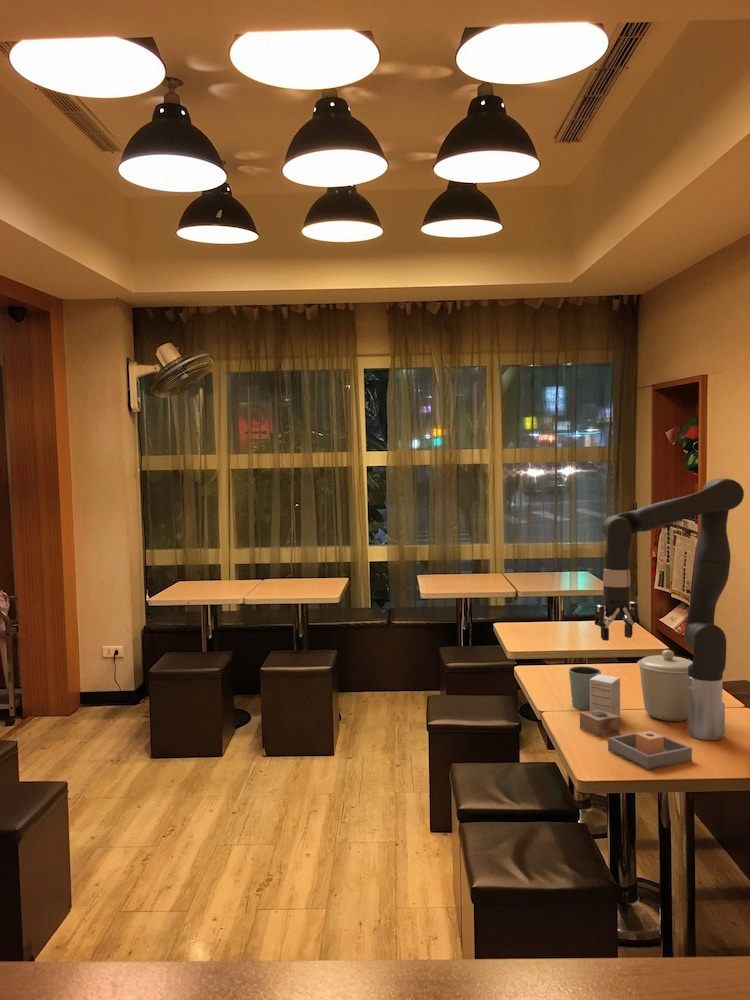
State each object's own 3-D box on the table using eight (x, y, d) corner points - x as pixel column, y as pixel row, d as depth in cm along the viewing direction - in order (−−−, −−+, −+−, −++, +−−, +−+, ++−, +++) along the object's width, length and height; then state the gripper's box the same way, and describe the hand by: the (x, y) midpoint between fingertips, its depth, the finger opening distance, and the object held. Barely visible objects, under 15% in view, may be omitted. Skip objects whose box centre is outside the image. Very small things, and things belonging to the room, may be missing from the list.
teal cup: (604, 710, 229) (604, 674, 229) (573, 710, 229) (573, 674, 229) (595, 701, 239) (595, 665, 239) (565, 701, 239) (565, 666, 239)
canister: (681, 730, 211) (681, 660, 210) (626, 715, 224) (626, 649, 224) (709, 717, 222) (710, 650, 221) (655, 703, 236) (655, 640, 235)
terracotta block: (650, 748, 195) (650, 730, 195) (663, 755, 190) (663, 736, 190) (635, 751, 193) (635, 732, 193) (649, 758, 189) (649, 739, 188)
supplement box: (598, 712, 228) (598, 673, 227) (620, 717, 223) (620, 677, 222) (588, 718, 222) (588, 678, 221) (612, 723, 217) (612, 682, 217)
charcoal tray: (649, 742, 202) (649, 729, 201) (691, 761, 188) (691, 748, 188) (608, 750, 196) (608, 737, 196) (648, 770, 182) (648, 757, 182)
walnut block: (600, 724, 217) (600, 708, 217) (619, 733, 209) (619, 716, 209) (579, 728, 214) (579, 711, 213) (597, 737, 206) (597, 720, 206)
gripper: (626, 580, 214) (626, 634, 214) (588, 584, 208) (588, 638, 209) (644, 584, 207) (644, 639, 207) (606, 587, 201) (606, 643, 202)
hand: (616, 638), depth 208 cm, fingers open, 8 cm apart
